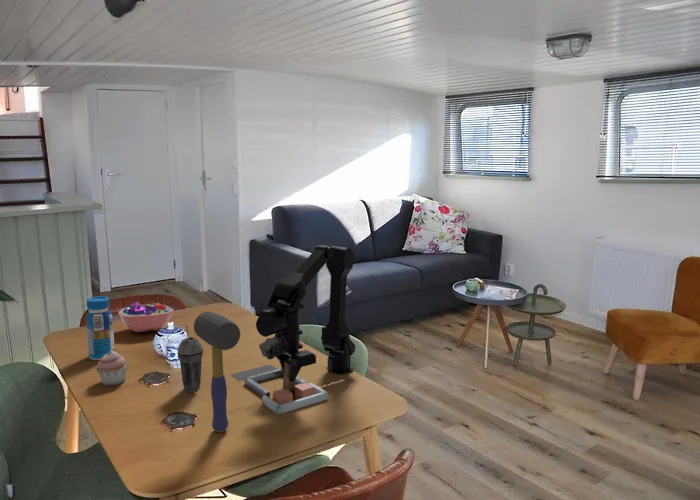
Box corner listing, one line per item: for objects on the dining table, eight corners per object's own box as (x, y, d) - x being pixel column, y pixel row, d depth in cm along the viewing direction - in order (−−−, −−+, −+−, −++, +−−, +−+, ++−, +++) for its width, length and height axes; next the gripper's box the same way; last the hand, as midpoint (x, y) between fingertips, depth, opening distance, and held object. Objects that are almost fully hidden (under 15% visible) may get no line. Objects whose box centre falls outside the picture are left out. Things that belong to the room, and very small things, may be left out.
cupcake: (96, 378, 180) (94, 347, 178) (129, 373, 183) (127, 343, 181) (96, 390, 171) (93, 357, 169) (130, 385, 175) (128, 353, 173)
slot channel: (283, 375, 183) (283, 367, 182) (306, 389, 172) (306, 381, 172) (244, 385, 175) (244, 377, 174) (266, 401, 164) (265, 392, 164)
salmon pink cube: (305, 393, 170) (305, 382, 169) (314, 398, 167) (314, 386, 166) (294, 397, 167) (294, 385, 167) (302, 402, 164) (302, 390, 164)
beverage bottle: (82, 358, 195) (77, 300, 192) (101, 350, 203) (97, 294, 199) (102, 362, 192) (97, 303, 189) (121, 353, 200) (117, 296, 196)
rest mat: (270, 366, 190) (270, 364, 190) (279, 372, 185) (279, 370, 185) (230, 376, 182) (230, 374, 181) (238, 382, 177) (238, 380, 177)
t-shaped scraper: (299, 390, 171) (301, 356, 168) (303, 394, 169) (306, 359, 166) (272, 398, 166) (274, 363, 163) (276, 402, 164) (278, 367, 161)
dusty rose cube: (287, 400, 166) (287, 388, 165) (292, 406, 162) (292, 394, 161) (274, 403, 164) (273, 391, 163) (279, 408, 160) (278, 396, 160)
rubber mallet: (195, 425, 150) (190, 312, 145) (222, 417, 155) (218, 307, 149) (218, 445, 141) (213, 324, 135) (246, 435, 146) (242, 318, 140)
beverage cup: (209, 385, 174) (207, 321, 171) (195, 395, 168) (192, 328, 164) (188, 382, 177) (185, 318, 173) (174, 392, 170) (170, 325, 166)
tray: (311, 388, 173) (311, 382, 172) (327, 399, 166) (327, 392, 166) (262, 403, 163) (262, 396, 163) (278, 414, 157) (277, 407, 156)
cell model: (166, 338, 216) (164, 308, 214) (111, 337, 216) (109, 308, 214) (179, 324, 233) (178, 296, 230) (129, 323, 233) (127, 295, 231)
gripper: (247, 323, 166) (248, 375, 168) (280, 341, 151) (281, 398, 154) (281, 316, 172) (282, 367, 175) (317, 333, 158) (317, 388, 160)
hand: (289, 379), depth 166 cm, fingers closed on t-shaped scraper, 3 cm apart
